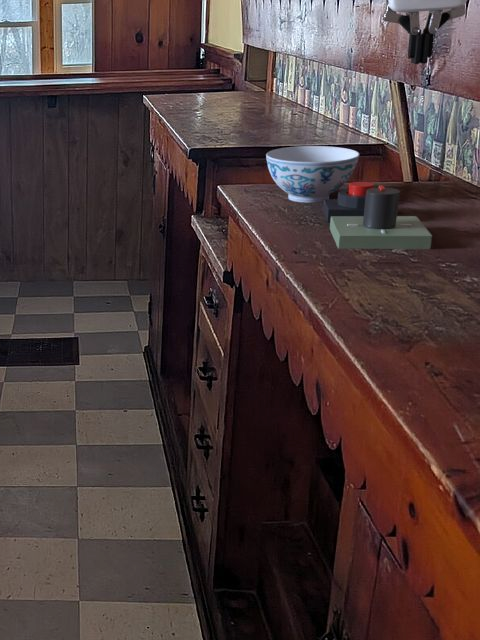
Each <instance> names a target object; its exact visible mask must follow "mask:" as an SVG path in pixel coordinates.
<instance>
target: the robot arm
mask: <svg viewBox="0 0 480 640" xmlns="http://www.w3.org/2000/svg"><path fill="white" fill-rule="evenodd" d="M467 2H468V0H385V10H384V12H383V15H382V20H383V22H387V23H392V24H398V25H400V26H401V27H402V29H404V30H405V31H406V33H407V34H409V37H408V47H407V59H410V63H411V64H413V65H419V64H422V65H423V64H428V61H429V60H428V59H429V58H432V55H433V49H434V41H435V34H436V33H437V32H438V31H439V29H440V28H442V27H443V25H445V24H446V23H447V22H448V21H451V20H454V19H459V18H461V17H464V16H465V15H466V14H467V9H466V4H467ZM444 10H445V11H444ZM420 12H428V14H427V18H426V21H425V25H424V26H425V27H424V28H423V29H421V26H420V25H421V24H420V23H421V22H420ZM399 13H405V14H399Z"/></svg>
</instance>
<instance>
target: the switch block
mask: <svg viewBox="0 0 480 640" xmlns="http://www.w3.org/2000/svg"><path fill="white" fill-rule="evenodd" d="M348 193H349V188H344V189H341V190H339V191H338V192H337V198H329V199H324V201H323V206H322V214H323V216H324V219H325V221H326V223H327V224H330V220H331V216H364V207H365V198H366V196H357V195H350V194H348Z"/></svg>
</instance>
